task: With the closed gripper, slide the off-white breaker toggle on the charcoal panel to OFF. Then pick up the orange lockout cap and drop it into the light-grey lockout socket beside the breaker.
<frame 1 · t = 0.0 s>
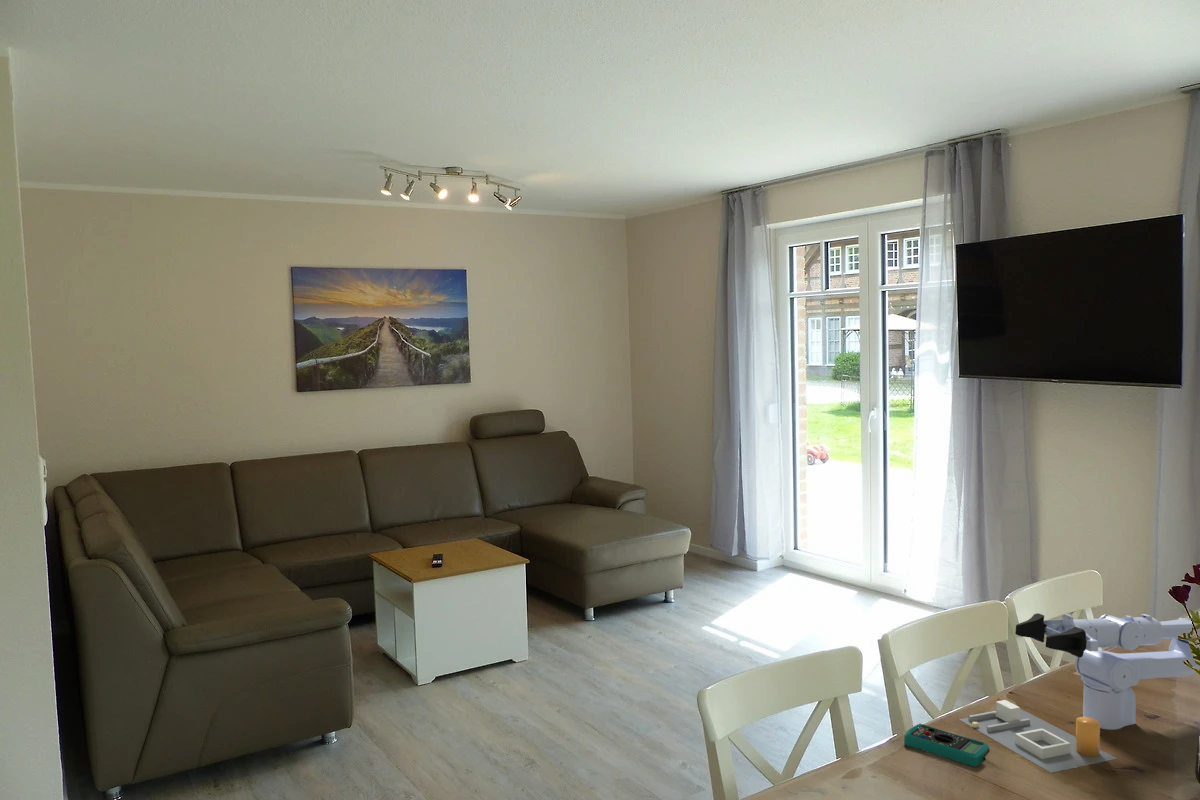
hand: (1031, 635, 172), 22 cm above the table, tool horizontal, fingers open, 7 cm apart
digital multimeter: (945, 752, 170), on the table
breaker toggle: (1007, 711, 180), point 3 cm above the table, slide at 0.0 cm
lockout cap: (1087, 751, 166), point 1 cm above the table, touching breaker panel
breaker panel: (1033, 743, 172), on the table
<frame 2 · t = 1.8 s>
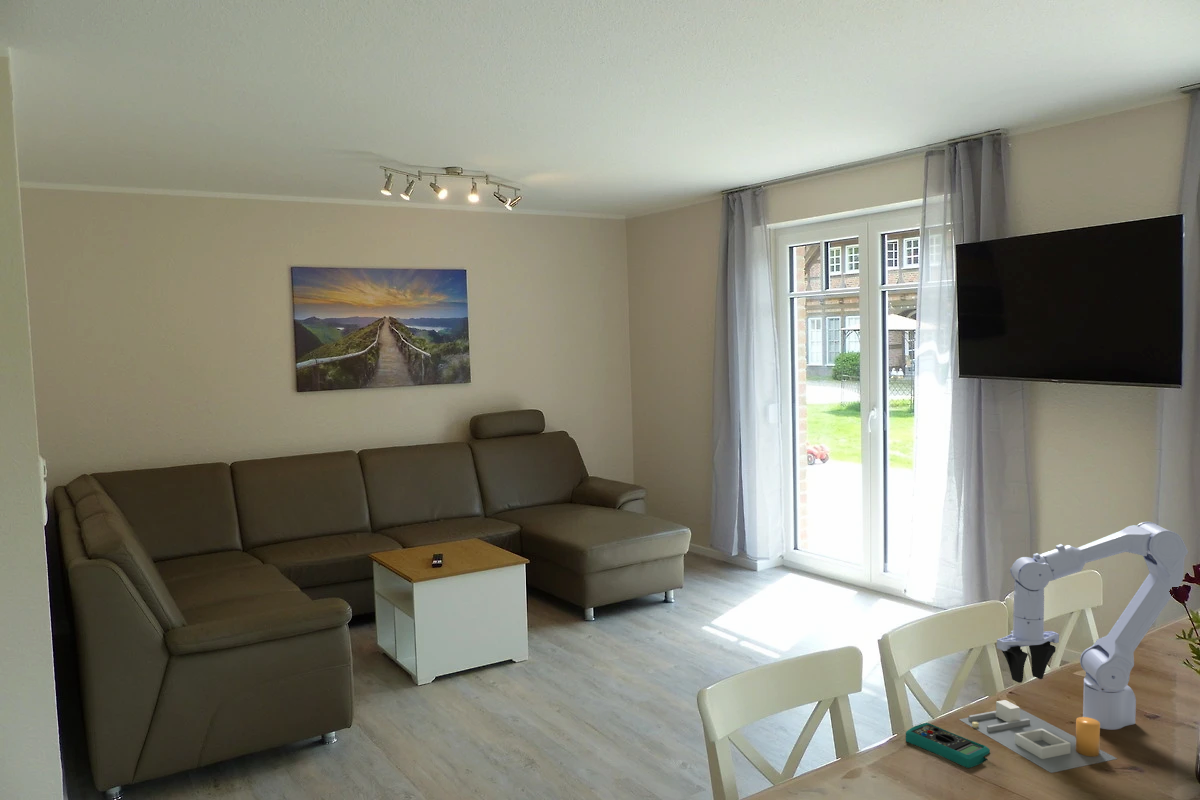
hand: (1027, 679, 181), 9 cm above the table, tool pointing down, fingers open, 5 cm apart
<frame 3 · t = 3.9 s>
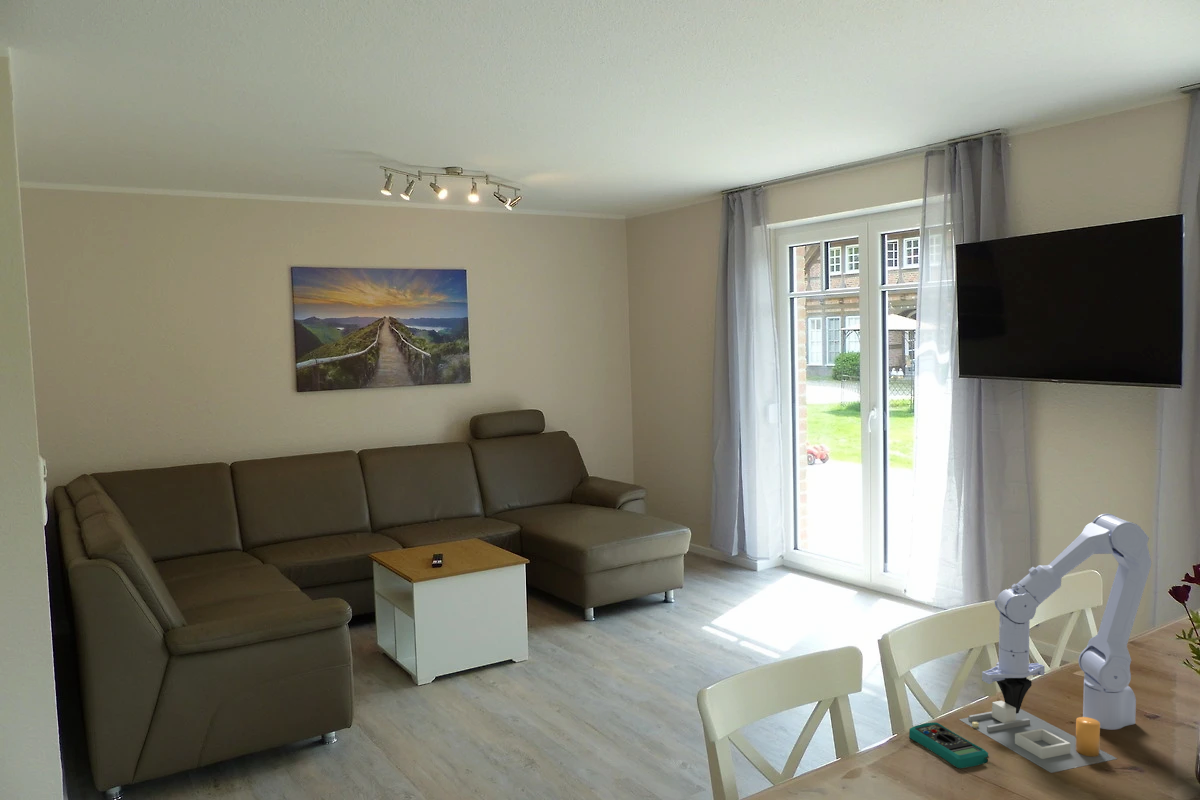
hand: (1012, 711, 180), 3 cm above the table, tool pointing down, fingers closed
breaker toggle: (1003, 712, 180), point 3 cm above the table, slide at 1.0 cm, touching gripper
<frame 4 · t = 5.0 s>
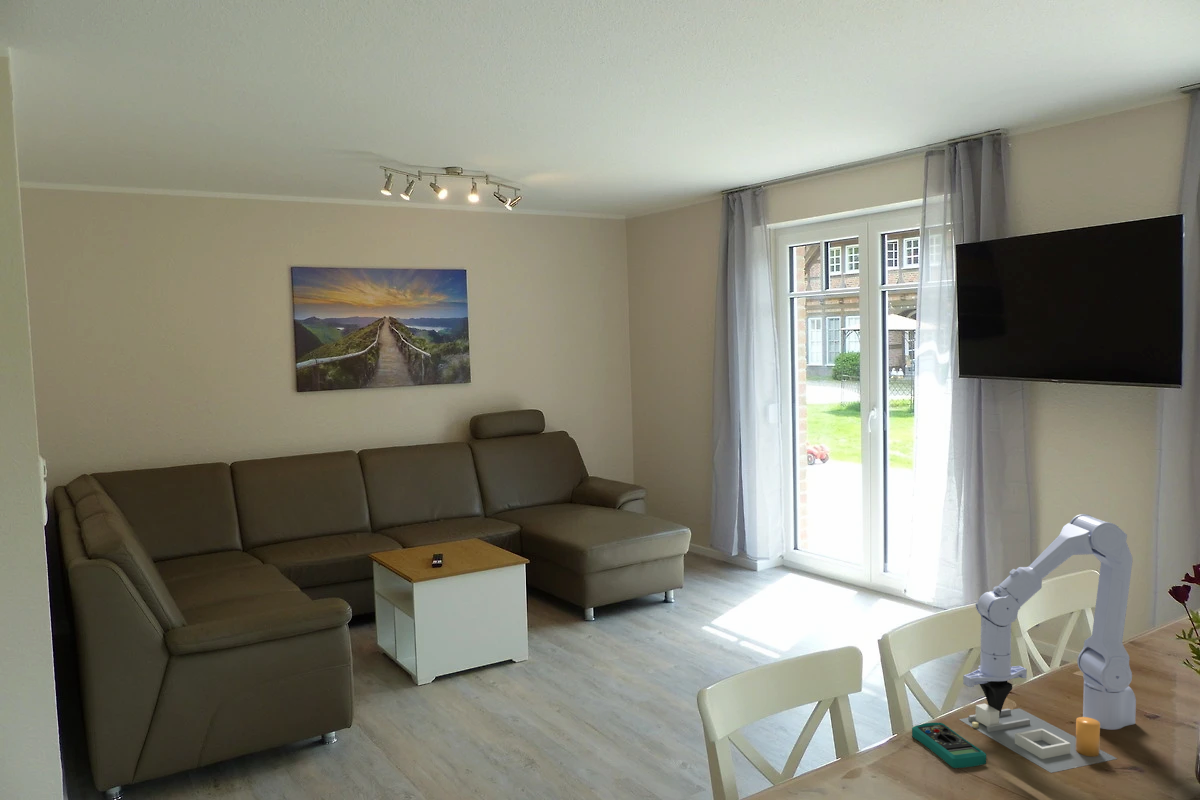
hand: (994, 715, 179), 3 cm above the table, tool pointing down, fingers closed
breaker toggle: (987, 715, 178), point 3 cm above the table, slide at 5.3 cm, touching gripper
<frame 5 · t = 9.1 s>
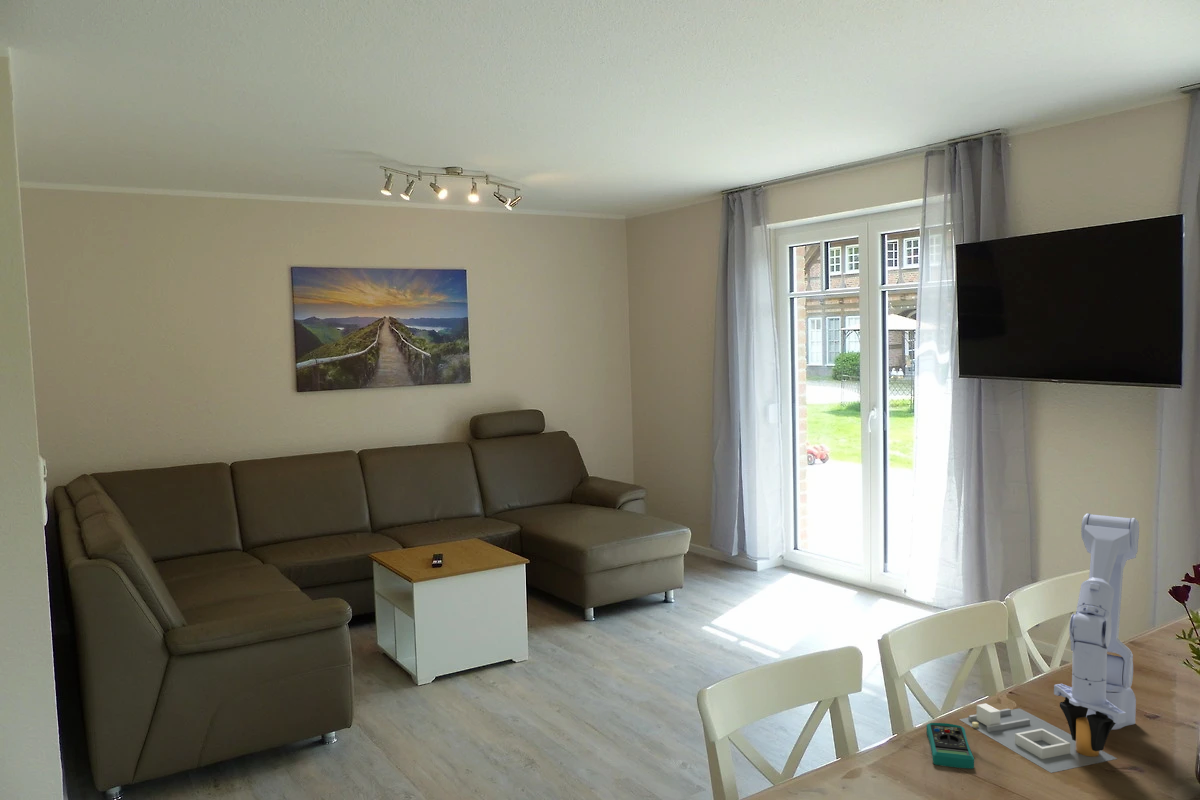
hand: (1087, 744, 166), 3 cm above the table, tool pointing down, fingers closed on lockout cap, 4 cm apart
breaker toggle: (988, 715, 178), point 3 cm above the table, slide at 5.1 cm
lockout cap: (1087, 751, 166), point 1 cm above the table, touching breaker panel, gripper
when the fingers open (4 cm above the table, at t = 12.8 s): lockout cap drops 2 cm, resting on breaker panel.
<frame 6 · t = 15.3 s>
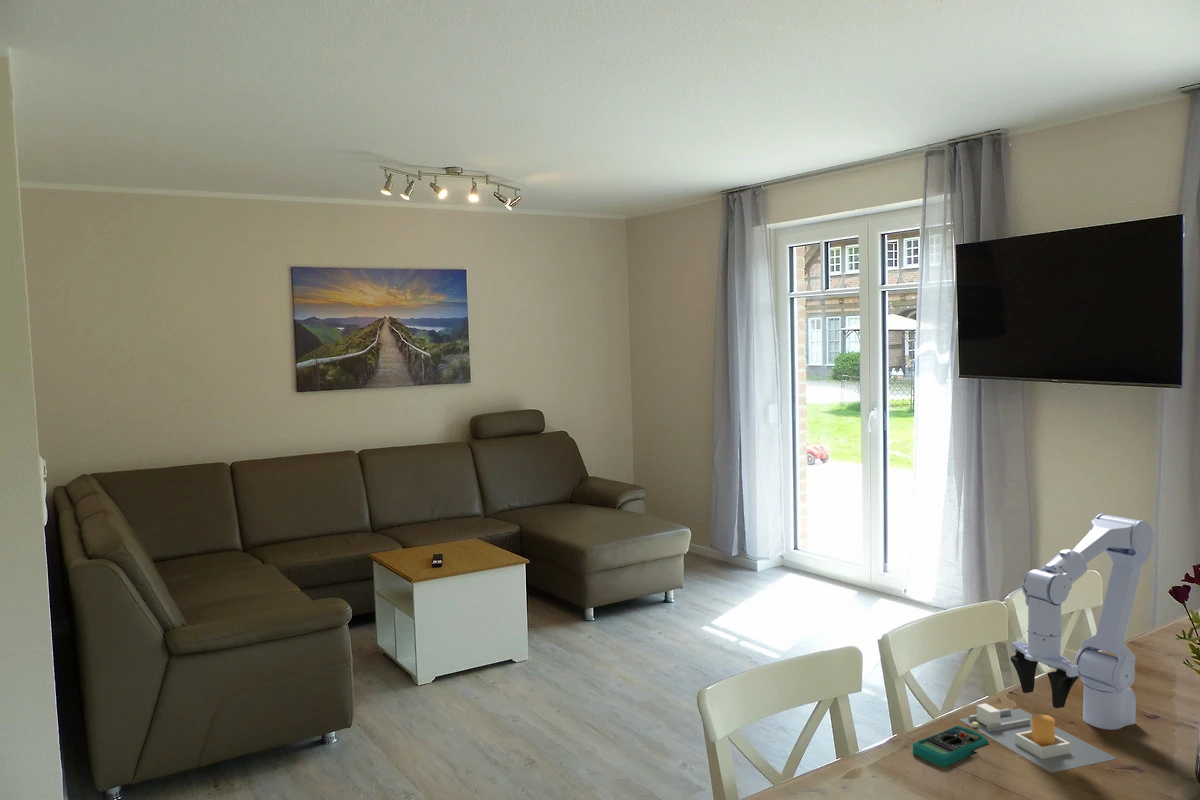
hand: (1042, 699, 170), 10 cm above the table, tool pointing down, fingers open, 7 cm apart
lockout cap: (1042, 748, 168), point 1 cm above the table, touching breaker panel
at the end: breaker toggle slide at 5.1 cm; lockout cap 0.2 cm from the target spot on the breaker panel, point 1.2 cm above the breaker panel's base; lockout cap tilted 0° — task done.
